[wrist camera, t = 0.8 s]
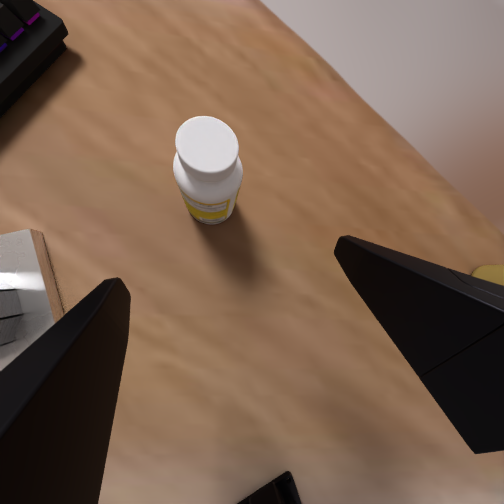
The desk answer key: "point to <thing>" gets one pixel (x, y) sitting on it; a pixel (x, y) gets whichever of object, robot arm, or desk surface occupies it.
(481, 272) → the bark textured cylinder
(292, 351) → the desk surface
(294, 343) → the desk surface
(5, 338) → the cup bracket
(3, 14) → the keyboard
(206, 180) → the supplement bottle
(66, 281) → the desk surface
